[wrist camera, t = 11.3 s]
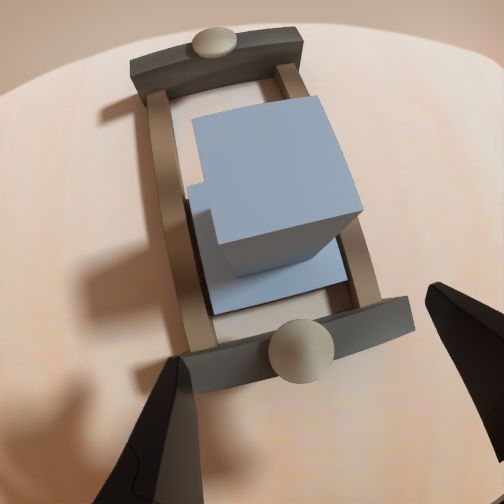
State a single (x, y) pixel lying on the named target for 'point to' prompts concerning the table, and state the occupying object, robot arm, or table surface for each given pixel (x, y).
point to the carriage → (270, 202)
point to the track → (182, 242)
